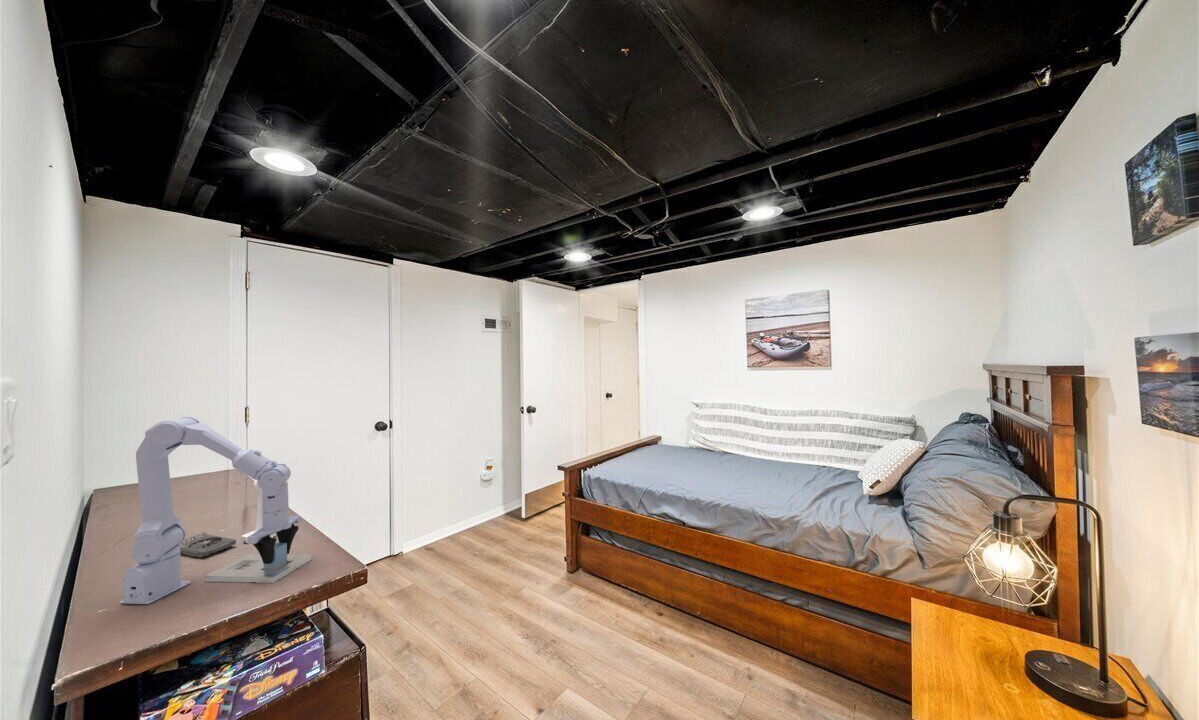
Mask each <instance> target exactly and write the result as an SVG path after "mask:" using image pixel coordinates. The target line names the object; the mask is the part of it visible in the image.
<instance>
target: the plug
mask: <svg viewBox="0 0 1199 720" xmlns="http://www.w3.org/2000/svg"><path fill="white" fill-rule="evenodd" d="M287 555H288V554H287V543H279V542H276V543H275V546H274V552H273V562H272V563H271V564H264V570H278V569H280V568H282V567H284V566H285V565H287Z"/></svg>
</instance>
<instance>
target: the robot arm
mask: <svg viewBox="0 0 1199 720" xmlns="http://www.w3.org/2000/svg"><path fill="white" fill-rule="evenodd" d="M144 434H145V435H144V438H143V440H142V442H141V443H140V445H138V446H139V447H138V448H137V450H136V452H135V463H136V471H137V482H138V484H137V485H138V491H139V492H138V493H139V494H138V495H139V503H140V504H139V505H140V514H141V515H140V516H141V524H140V526H139V528H138V529H137V530H136V532H135V534H134V543H133V545H132V546H131V549H130V555H131V557H132V559H134V561H136V562H137V564H135V565H134V566H133V567H130V568H129V569H127V570H126V571H124V573H123V575H122V600H120V601H119V603H120V604H128V605H129V604H131V605H134V604H135V605H149V604H152V603H154V602H156V601H158V600H160V599H162V598H164V597H166V596H168V595H169V594H172V593H174V592H176V591H178V590H180V589H181V588H184V587H186V586H188V585H190V584H192V581H190V580H182V577H181V575H182V571H181V570H182V569H181V568H182V566H181V565H182V564H181V555H180V545H182V542H183V543H184V542H185V541H184V539H186V536H187V532H186V529H185V528H184V526H182V524H181V519H180V518H179V517H178V516H177V515H176V514H174V507H173V497H172V485H171V476H170V465H169V464H170V463H169V455H170V454H171V453H173V452H174V451H175V450H176V449H177V448H179V447H180V446H203V447H205V448H206V449H208V450H211V451H212V452H215V454H218V455H220V456H223V457H224V458H226V459H228V460H230V461H231V465H232V468H233V469H235V470H237V471H239V472H240V473H242V474H244V475H246V476H247V477H250V478H252V479H253V480H254V481H255V480H258V481H257V484H258V486H259V487H260V488H261V489H262V528H261V529H259V530H258V531H256V532H255V533H254V534H252V535H250V536H248V543H247V545H253V547H255V549H256V550H257V551H258V554H260V556H261V558H262V561H263V564H271V563H272V562H273V552H274V546H275V543H277V540H278V543H287V555H290V551H291V547H292V544H293V540H294V538H295V536H296V534H297V533H298V530H299V525H296V524H300V523H301V522H302V517H301V515H292V516H290V517H289V514H290V513H289V507H290V506H289V483H288V480H289V479H290V478H291V473H292V472H291V469H290V467H288V466H287V465H286V464H284V463H278V462H277V461H276V460H273V461H272V460H271V459H269V458H268V457H266V456H264V455H263V454H262V453H263V452H262V451H261V450H259V449H256V450H254V449H242V448H241V447H240V446H238V445H237V444H235V443H233V442H232V441H230V440H229V439H228V438H226V437H224V436H223V435H222V434H220V433H218V432H217V431H215V430H213V428H211V427H210V426H209V425H208V424H207V423H205V422H202V421H201V422H200V420H198V419H197V418H195V417H192V416H183V417H180V418H177V419H171V420H164V421H160V422H157V423H156V424H154V425H153V426H151V427H150V428H148V429H147V430H145V432H144ZM274 533H276V534H277V535H276V536H277V537H274V538H271V537H270V535H272V534H274Z"/></svg>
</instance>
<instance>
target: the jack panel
mask: <svg viewBox="0 0 1199 720" xmlns="http://www.w3.org/2000/svg"><path fill="white" fill-rule="evenodd" d="M310 560H311V561H312V555H309V554H308V555H307V554H287V565H285V566H284V567H282V568H280V569H278V570H264V564H263V561H262V558H261V556H260V553H258V554H257V553H256V554H255V553H254V554H253V553H251V554H249V553H248V554H245V555H244V556H241V557H240V558H238V559H236V560H234V561H231V562H230V563H228V564H225V565H224V566H221V567H220V568H218V569H216V570H214V571H212V572H209V573H208V574H206V575H204V582H209V583H210V582H215V583H250V582H256V583H257V584H262V583H263V584H274V583H276V582H278V581H280V580H281V579H283V578H285V577H286V576H288V575H289V574H292V571H293V572H294V571H296V570H298V569H300V568H301V567H303V566H304V565H306V564H308V563H309V562H311V561H310ZM307 562H308V563H307ZM302 565H303V566H302ZM244 566H248V567H246V568H244V569H240V568H242V567H244ZM297 568H298V569H297ZM284 576H285V577H284ZM279 579H280V580H279ZM256 583H255V584H256Z"/></svg>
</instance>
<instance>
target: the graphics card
mask: <svg viewBox="0 0 1199 720" xmlns="http://www.w3.org/2000/svg"><path fill="white" fill-rule="evenodd" d="M236 544H237V539H235V538H229V537H223V536H218V535H212V534H207V531H203V532H202V533H201V532H200V533H198V534H196V535H193V536H190V537H187V538H185V539H184V541H183V542H182V543H181V544H180V556H181V555H186V556H192V557H196V558H203V557H205V556H208V555H212V554H214V553H218V551H222V550H225V549H227V548H230V547H231V546H234V545H236ZM224 548H225V549H224ZM211 553H212V554H211Z"/></svg>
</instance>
